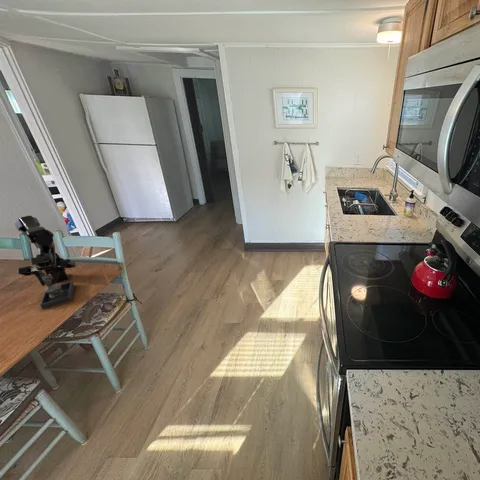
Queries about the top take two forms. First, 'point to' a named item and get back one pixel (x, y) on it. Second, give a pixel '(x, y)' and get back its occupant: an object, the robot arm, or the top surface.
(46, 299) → the tray
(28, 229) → the robot arm
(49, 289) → the grey statuette
